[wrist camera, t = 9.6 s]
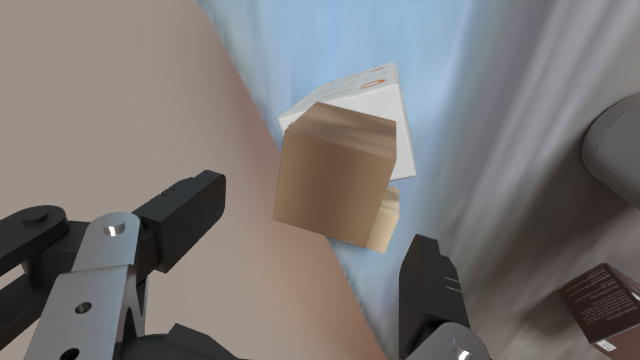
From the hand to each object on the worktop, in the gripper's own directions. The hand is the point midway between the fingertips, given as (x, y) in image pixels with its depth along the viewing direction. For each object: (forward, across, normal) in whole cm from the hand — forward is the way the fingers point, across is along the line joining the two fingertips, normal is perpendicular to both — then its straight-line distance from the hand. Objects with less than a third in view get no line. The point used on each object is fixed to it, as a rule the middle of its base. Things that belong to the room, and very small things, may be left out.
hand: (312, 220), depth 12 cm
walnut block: (+8, 0, 0) cm, 8 cm away
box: (+22, -32, +14) cm, 41 cm away
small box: (+21, 0, 0) cm, 21 cm away
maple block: (+21, -4, +11) cm, 24 cm away
